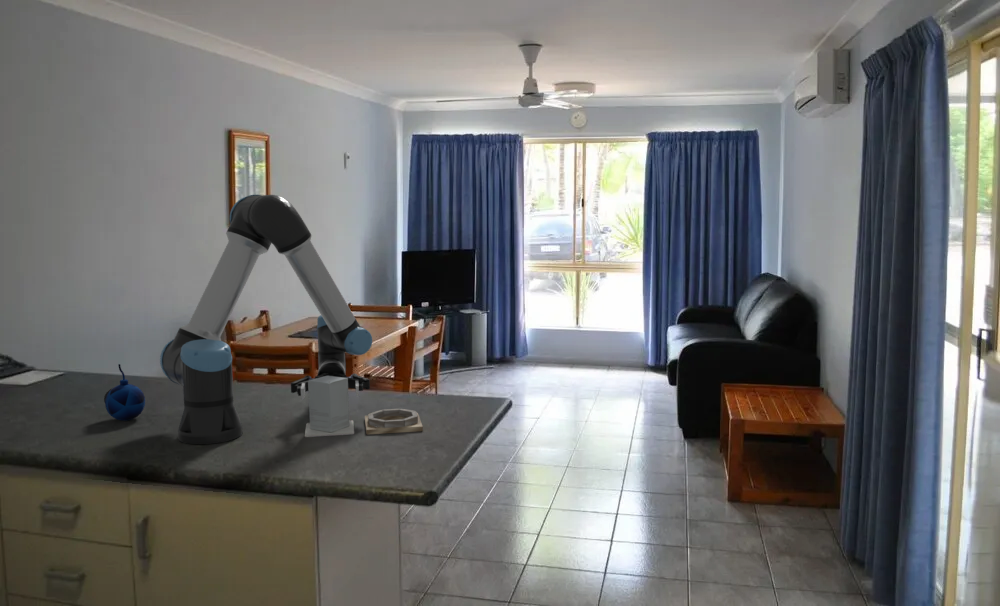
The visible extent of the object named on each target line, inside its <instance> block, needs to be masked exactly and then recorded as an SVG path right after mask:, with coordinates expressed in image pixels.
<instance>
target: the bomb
mask: <svg viewBox="0 0 1000 606" xmlns="http://www.w3.org/2000/svg"><path fill="white" fill-rule="evenodd" d="M118 370H119V372H120V373H121V375H122V379H120V381H119V384H118V385H116V386H114V387H112V388H110V389H109V390H107V392H106V393H105V394H104V399H103V402H104V404H105V409H106V412H107V413H108V415H109V416H111V418H113V419H114V420H118V421H122V422H126V421H132V420H134V419H136V418H138V416H140V415H141V414H142V413H143V411H144V409H145V406H146V396H145V395H144V394H145V393H144V392H143V391H142V389H140V388H139V386H136V385H134V384H132V383H129V380H128V379H126V377H125V376H126V375H125V372H124V371H123V370H122V366H121V364H120V363H118Z"/></svg>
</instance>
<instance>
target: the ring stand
mask: <svg viewBox="0 0 1000 606" xmlns="http://www.w3.org/2000/svg"><path fill="white" fill-rule="evenodd" d="M364 423H365V424H364V427H365V431H366V435H379V434H382V435H383V434H400V433H413V432H415V433H417V432H424V429H423V428H424V426H423V424H422V421H421V417H420V415H419V413H418V412H417V410H412V409H404V408H388V409H387V408H386V409H380V410H376V411H373V412H370V413H368V415H364Z"/></svg>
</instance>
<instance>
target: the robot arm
mask: <svg viewBox="0 0 1000 606" xmlns="http://www.w3.org/2000/svg"><path fill="white" fill-rule="evenodd" d="M229 223H230V224H229V226H228V228H227V230H226V233H225V234H226V236H227V240H228V241H227V244H226V246H225V248H224V250H223V252H222V254H221V255H220V258H219V261H218V263H217V264H216V267H215V269H214V271H213V273H212V275H211V277H210V279H209V281H208V283H207V285H206V287H205V289H204V290H203V293H202V295H201V297H200V298H199V299H200V300H199V301H198V304H197V306H195V307H196V308H195V310H194V312H193V314H192V315H191V318H190V319H189V322H188V323H187V324H184V325H182V326H180V327H179V328H178V330H177V333H176V334H175V336H174V338H173V339H172V340H170V341H168V342H167V344H165V346H164V347H163V348H162V350H161V353H160V355H159V364H160V365H159V366H160V369H161V370H162V372H163V374H164V375H165V376H166V377H167V378H168V380H170V381H171V382H172V383H174V384H176V385H180V386H182V391H183V392H182V393H183V411H182V415H181V418H180V421H179V426H178V428H177V435H178V441H180V442H181V443H184V444H190V445H210V444H217V443H223V442H229V441H233V440H234V439H237V438H240V436H241V437H242V435H243V423H242V420H241V419H240V416H239V413H238V411H237V409H236V406H235V403H234V402H235V401H234V400H235V399H234V384H233V383H234V382H233V381H234V379H233V356H232V355H233V354H232V352H231V351H232V350H231V349H232V348H231V347H230V345H229V344H228V343H227V342H225V341H222V338H221V337H222V334H223V332H224V330H225V327H226V326H227V324H228V322H229V319H230V317H231V315H232V313H233V311H234V310H235V309H234V308H235V306H236V304H237V302H238V301H239V298H240V297H241V293H242V292H243V291H244V288H245V286H246V283H247V282H248V280H249V277H250V275H251V273H252V272H253V269H254V267H255V265H256V263H257V261H258V259H259V257H260V256H261V255H263V254H267V253H268V251H269V249H270V247H271V246H272V245H273V246H274V247H275V249H276V251H277V252H278V254H280V255H284V256H285V258H286V260H287V261H288V263H289V265H290V266H291V268H292V269H293V271H294V272H295V274H296V276H297V277H298V280H299V281H300V283H301V284H302V286H303V287H304V289H305V291H306V292H307V294H308V296H309V298H310V299H311V301H312V303H313V304H314V305H315V308H316V309H317V311H318V312H319V314H320V315H319V316H318V317H317V321H316V322H317V326H316V331H317V332H316V333H317V348H318V352H317V353H318V354H317V355H318V370H317V375H316V376H315V377H313V378H312V376H310V375H305V376H304V377H302V378H300V379H297V380H294V381H292V382H290V393H292V394H294V393H297V395H298V397H299V396H300V399H301V400H304V399H305V396H306V392H308V381H309V380H313V379H316V378H320V377H323V376H334V377H343V378H348V389H353V390H355V397H360V392H362V391H364V390H370V389H371V384H370V383H371V382H370V379H369V378H367V377H363V376H360V375H358V374H357V373H352V374H351V375H350V376H347V374H346V371H347V366H346V365H347V364H346V353H347V354H349V355H355V356H363V355H365V354H366V353H368V352H369V351H370V349H371V347H372V345H373V335H372V334H371V332H370V331H369V330H368V329H366V328H364V327H362V326H361V325H360V323H359V322H358V320H357V318H356V317H355V315H354V313H353V312H352V311H351V309H350V307H349V305H348V303H347V301H346V300H345V298H344V296H343V295H342V292H341V291H340V289H339V287H338V286H337V284H336V282H335V281H334V279H333V277H332V275H331V274H330V272H329V270H328V269H327V266H326V265H325V264H324V262H323V260H322V258H321V256H320V254H318V252H317V250H316V248H315V247H314V245H313V242H312V241H311V240H312V239H311V238H312V236H313V235H312V234H311V233H312V232H310V230H309V228H308V226H307V225H306V223H305V221H304V220H303V218H302V216H301V215H300V214H299V212H298V211H297V209H296V208H295V207H294V205H293V204H292V203H290V201H289V200H287V199H285V198H284V197H283V196H279V195H275V194H250V195H247V196H244V197H242V198H240V199H238V200H237V201H236V202H235V203H234V205H233V206H232V207H231V209H230V212H229Z"/></svg>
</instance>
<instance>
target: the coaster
mask: <svg viewBox="0 0 1000 606" xmlns="http://www.w3.org/2000/svg"><path fill="white" fill-rule="evenodd" d="M346 435H355V426H354V419H353V420H350V426H348V427H345V428H342V429H339V430H336V431H333V432H326V431H320V430H315V429H310V422H306V425H305V431H304V437H305V438H312V437H328V436H329V437H330V436H332V437H333V436H346Z"/></svg>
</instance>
